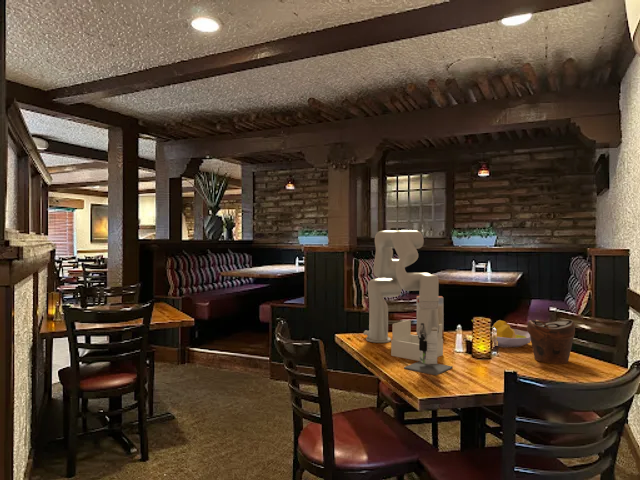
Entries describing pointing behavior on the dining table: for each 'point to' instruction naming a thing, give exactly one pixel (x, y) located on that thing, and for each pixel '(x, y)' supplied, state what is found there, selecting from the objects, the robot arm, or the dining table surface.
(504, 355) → the dining table surface
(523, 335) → the fruit bowl
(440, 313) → the cracker box
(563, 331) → the brown flower pot
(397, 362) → the dining table surface
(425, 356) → the syrup box
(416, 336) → the carton
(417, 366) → the mat
